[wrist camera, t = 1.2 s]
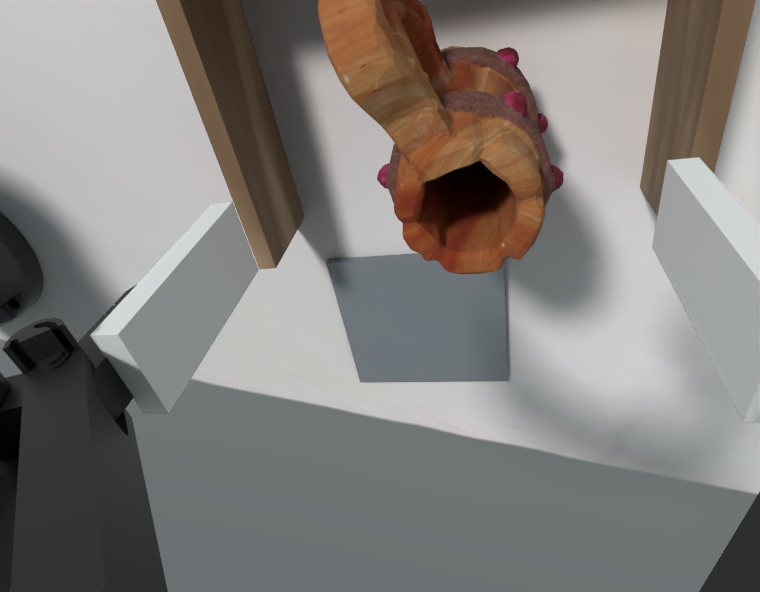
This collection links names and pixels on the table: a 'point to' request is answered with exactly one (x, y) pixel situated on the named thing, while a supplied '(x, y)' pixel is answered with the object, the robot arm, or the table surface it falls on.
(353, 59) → the mug
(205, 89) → the wooden boards
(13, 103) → the table surface
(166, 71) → the table surface
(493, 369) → the rubber mat
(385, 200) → the table surface
